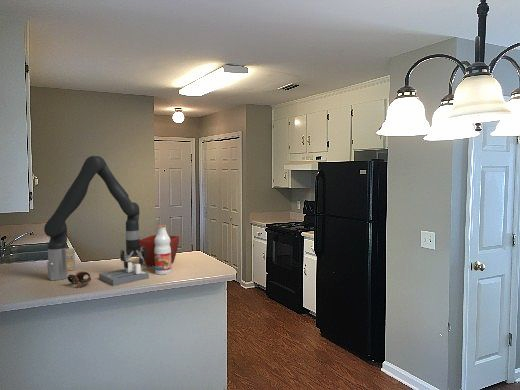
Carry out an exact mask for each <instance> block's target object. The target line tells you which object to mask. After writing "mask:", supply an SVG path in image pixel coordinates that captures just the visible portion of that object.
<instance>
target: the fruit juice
mask: <svg viewBox="0 0 520 390" xmlns="http://www.w3.org/2000/svg"><path fill="white" fill-rule="evenodd" d="M169 236H170V235H169V234H168V232H167V224H158V225H157V233H156V237H155V239H154V242H155V249H154V254H155V267H154V271H155V274H156V275H161V276H163V275H169V274H171V273H172V269H173V268H172V267H173V266H172V263H171V247H170V237H169Z"/></svg>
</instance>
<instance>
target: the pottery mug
mask: <svg viewBox="0 0 520 390" xmlns="http://www.w3.org/2000/svg"><path fill="white" fill-rule="evenodd" d="M84 276H87V278H85V277H84ZM66 279H67V281H68V282H70V283H71V284H72V285H74V284H75V285H76V287H77V288H78V289H79V288H81V287H82V286H85V285H88V284H89V283H90V282H91V281H92V277H91V275H90V273H89V272H87V271H78V272H77V273H75V275H74V274H69V275H67V278H66Z"/></svg>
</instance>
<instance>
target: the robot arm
mask: <svg viewBox="0 0 520 390" xmlns="http://www.w3.org/2000/svg"><path fill="white" fill-rule="evenodd" d="M96 174H97V176H99V177H100V178H101V180H102V181H103V182H104V183H105V185H106V188H107V190H108V191H109V193H110V195H111V196H112V197H113V198H114V199H115V201H116V202H117V203H118V205H119V207H120V209H121V210H122V212H123V213H124V214H125V215H126V217H127V218H126V221H125V249H121V250H120V255H119V256H120V258H119V259H120V261H122V262H123V268H124V267H125V268H128V262H127V261H128V260H130V258H131V257H132V258H133V257H138V258H139V259H138V264H141V267H142V266H143V264H144V259H143V258H145V257H146V249H145V247H141V248H140V240H141V238H140V234H141V233H140V225H139V223H140V222H139V219H140V207H139V204H138V203H136V202H132V200H131V199H130V196H129V194H128V193H127V191H126V190H125V189H124V187H123V186H122V185H121V183H120V182H119V181H118V179H116V177H115V175H114V174H113V173H112V171H111V170H110V168H109V166H108V164H107V162H106V161H105V159H104V158H103V157H102V156H99V155H91V156H88V157H87V158H86V159H85V161H84V162H83V164H82V166H81V168H80V170H79V173H78V175H77V176H76V178H75V179H74V181H73V182H72V183H71V185H70V186H69V188H68V190H67V191H66V193H65V194H64V196H63V198H62V200H61V201H60V203H59V205H58V207H57V208H56V210H55V212H53V214H52V215H51V217H50V218H49V219H48V220H47V222H46V223H45V225H44V227H43V228H44V229H43V231H44V234H45V235H46V237H49V241H48V243H47V256H48V257H47V259H48V261H47V262H46V265H47V266H46V267H47V279H48V280H50V281H60V280H65V279H67V278H68V271H67V258H66V248H67V242H68V226H67V224H66V221H67V220H68V218H69V217H70V216H71V215H72V214H73V213H74V212H75V211H76V210H77V209H78V208H79V207H80V205H81V203H82V202H83V200H84V199H85V197H86V195H87V193H88V190H89V189H88V188H89V185H90V183H91V181H92V179H93V178H95V175H96ZM141 251H142V253H141ZM125 254H126V255H125Z"/></svg>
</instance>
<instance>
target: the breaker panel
mask: <svg viewBox="0 0 520 390" xmlns="http://www.w3.org/2000/svg"><path fill="white" fill-rule="evenodd" d="M132 270H133V272H129V273H128V272H126V270H125V269H124V268H122V269H117V270H112V271H111V270H110V271H107V272H100V273H98V279H99V280H101V281H103V282H105V283H107V284H109V285H111V286H113V287H115V286H119V285H124V284H128V283H134V282H138V281H142V280H149V279H150V278H149V277H150V276H149V272H146V271H144V270H142V269H141V273H140V274H135V273H134V266H132Z"/></svg>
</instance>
